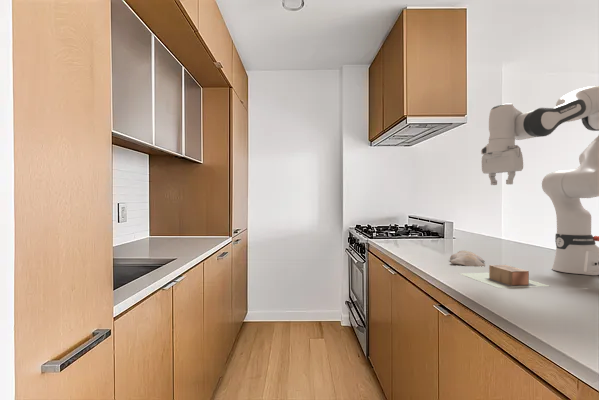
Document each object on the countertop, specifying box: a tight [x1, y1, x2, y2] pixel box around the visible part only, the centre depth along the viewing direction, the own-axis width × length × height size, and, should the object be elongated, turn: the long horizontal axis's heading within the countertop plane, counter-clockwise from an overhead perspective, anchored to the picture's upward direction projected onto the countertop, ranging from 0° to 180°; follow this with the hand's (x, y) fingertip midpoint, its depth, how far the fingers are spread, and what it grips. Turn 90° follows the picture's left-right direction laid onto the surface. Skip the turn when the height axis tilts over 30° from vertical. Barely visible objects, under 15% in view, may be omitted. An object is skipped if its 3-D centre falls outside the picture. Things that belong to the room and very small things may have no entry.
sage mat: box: [458, 272, 550, 289], centre depth 142 cm, size 18×24×1 cm
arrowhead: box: [449, 250, 486, 268], centre depth 185 cm, size 14×5×30 cm
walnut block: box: [488, 264, 530, 286], centre depth 138 cm, size 6×4×12 cm
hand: (501, 184), depth 154 cm, fingers open, 8 cm apart
